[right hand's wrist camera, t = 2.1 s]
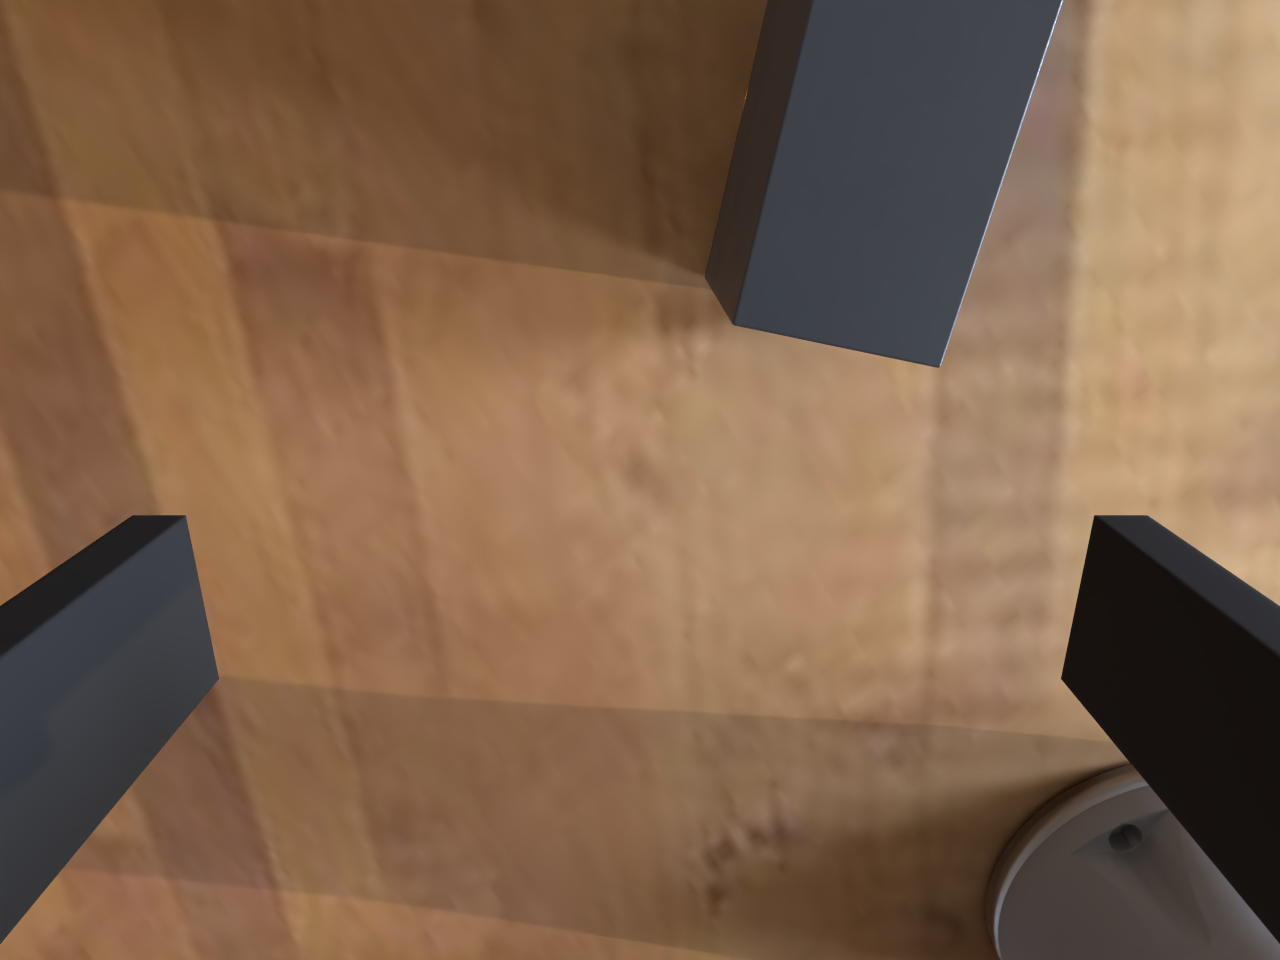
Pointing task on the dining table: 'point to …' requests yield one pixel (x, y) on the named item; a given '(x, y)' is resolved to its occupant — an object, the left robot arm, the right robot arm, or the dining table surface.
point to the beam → (872, 166)
